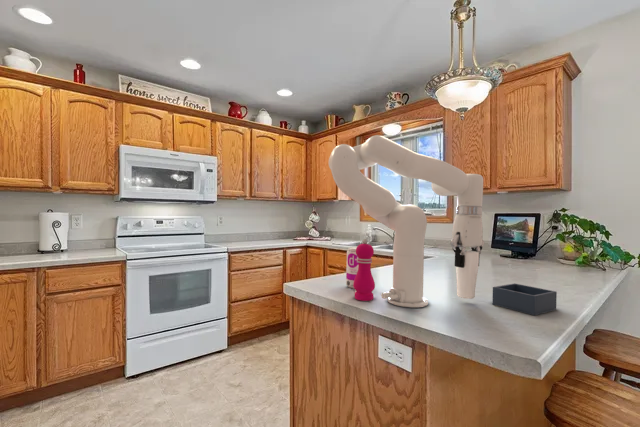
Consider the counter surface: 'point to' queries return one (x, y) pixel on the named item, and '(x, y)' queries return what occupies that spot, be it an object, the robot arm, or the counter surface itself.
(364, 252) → the pepper mill
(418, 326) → the counter surface
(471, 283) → the drinking glass
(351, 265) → the supplement can
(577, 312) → the counter surface
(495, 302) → the tub
